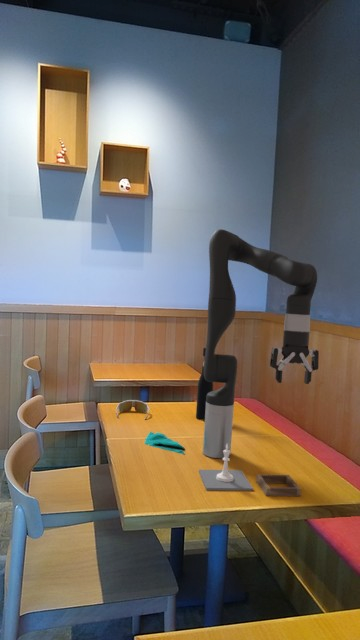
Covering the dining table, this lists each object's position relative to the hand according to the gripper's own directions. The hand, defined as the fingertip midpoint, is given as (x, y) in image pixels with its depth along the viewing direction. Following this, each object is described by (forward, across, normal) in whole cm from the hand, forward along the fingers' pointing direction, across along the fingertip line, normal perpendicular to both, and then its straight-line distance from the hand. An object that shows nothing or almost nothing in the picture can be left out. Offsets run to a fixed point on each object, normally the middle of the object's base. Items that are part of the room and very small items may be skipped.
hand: (292, 383), depth 140 cm
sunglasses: (+28, +46, -61) cm, 82 cm away
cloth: (+28, +36, -26) cm, 53 cm away
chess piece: (+27, +20, +6) cm, 35 cm away
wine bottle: (+27, +16, -60) cm, 68 cm away
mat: (+28, +20, +6) cm, 35 cm away
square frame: (+28, +6, +11) cm, 31 cm away
